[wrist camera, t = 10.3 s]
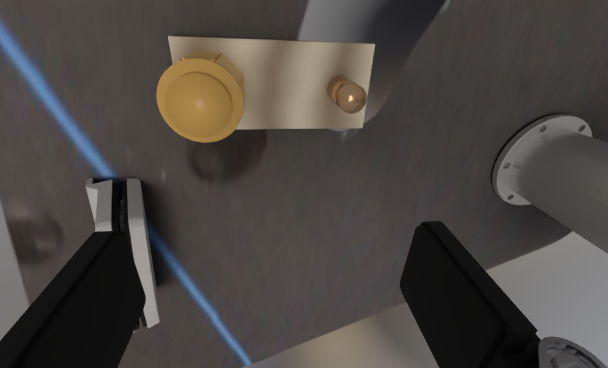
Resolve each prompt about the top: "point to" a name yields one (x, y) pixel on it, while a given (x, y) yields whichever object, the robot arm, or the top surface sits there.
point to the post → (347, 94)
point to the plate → (288, 78)
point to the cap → (202, 96)
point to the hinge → (127, 232)
